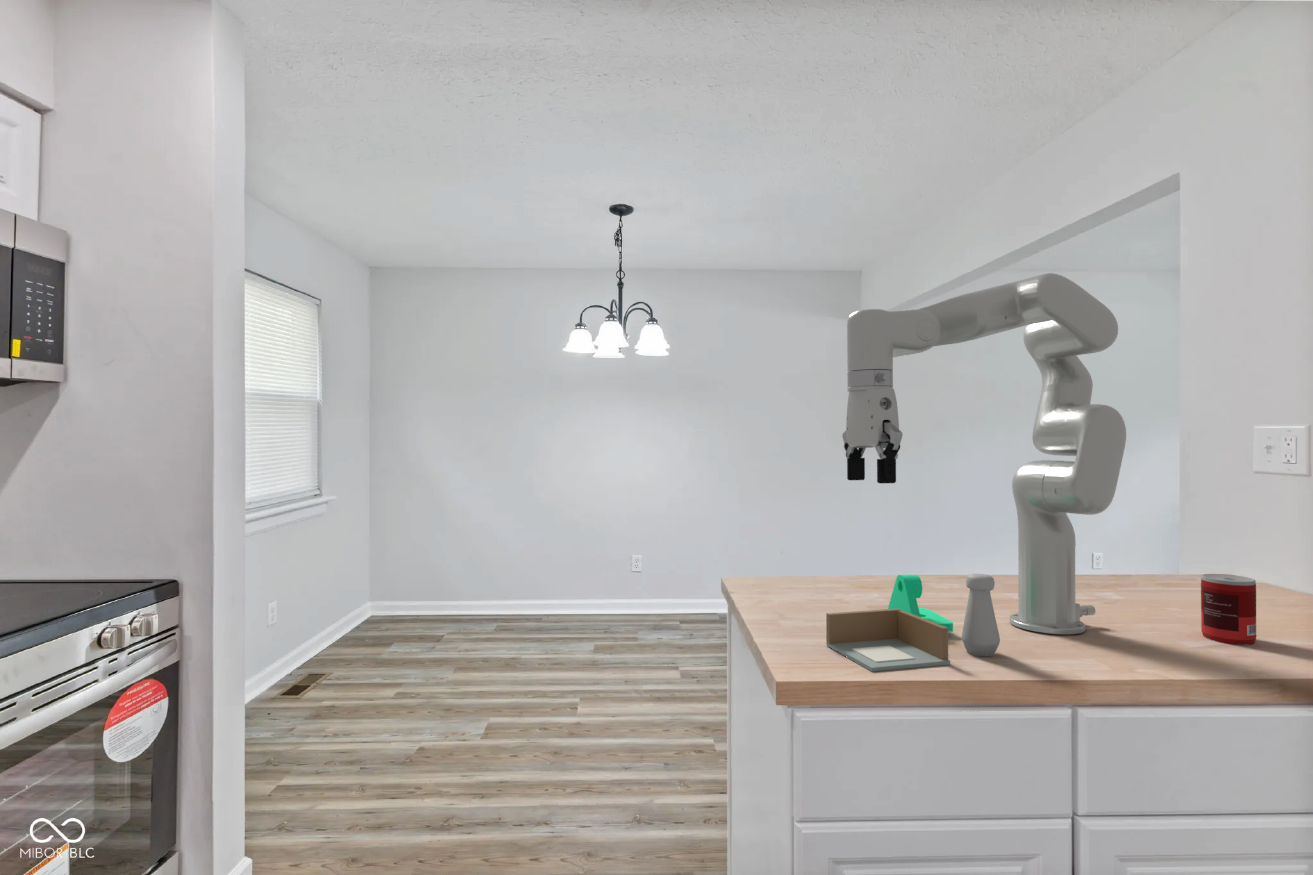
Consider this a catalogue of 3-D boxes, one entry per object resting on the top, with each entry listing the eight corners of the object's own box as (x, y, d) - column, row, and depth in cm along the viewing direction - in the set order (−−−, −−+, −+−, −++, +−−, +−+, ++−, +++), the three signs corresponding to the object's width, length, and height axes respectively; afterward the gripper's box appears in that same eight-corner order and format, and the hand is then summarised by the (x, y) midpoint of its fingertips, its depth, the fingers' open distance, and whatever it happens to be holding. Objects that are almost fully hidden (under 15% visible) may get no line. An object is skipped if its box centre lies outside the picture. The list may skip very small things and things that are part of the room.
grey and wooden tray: (897, 640, 123) (897, 608, 123) (950, 664, 110) (950, 628, 110) (826, 645, 120) (826, 613, 120) (871, 671, 106) (871, 634, 106)
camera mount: (955, 637, 126) (955, 580, 126) (913, 638, 125) (913, 581, 125) (925, 621, 138) (925, 569, 138) (887, 621, 137) (887, 569, 137)
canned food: (1247, 635, 127) (1247, 575, 127) (1263, 647, 119) (1263, 583, 120) (1195, 631, 130) (1195, 572, 130) (1208, 642, 123) (1208, 579, 123)
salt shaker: (997, 649, 118) (997, 572, 118) (1002, 659, 112) (1002, 578, 112) (960, 646, 120) (960, 570, 120) (963, 655, 114) (962, 576, 114)
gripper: (919, 378, 113) (920, 484, 113) (863, 386, 130) (863, 478, 129) (878, 377, 111) (878, 485, 111) (826, 386, 128) (827, 479, 128)
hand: (870, 481), depth 120 cm, fingers open, 9 cm apart
